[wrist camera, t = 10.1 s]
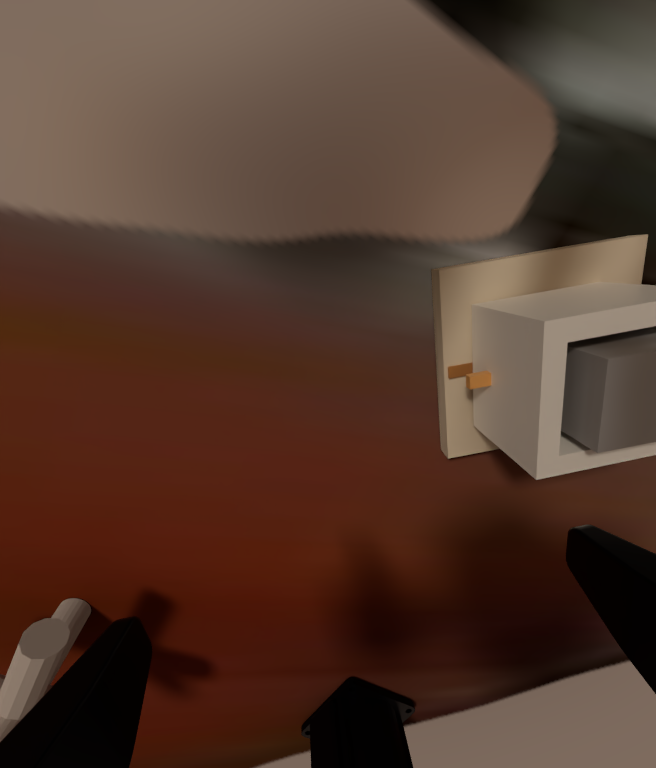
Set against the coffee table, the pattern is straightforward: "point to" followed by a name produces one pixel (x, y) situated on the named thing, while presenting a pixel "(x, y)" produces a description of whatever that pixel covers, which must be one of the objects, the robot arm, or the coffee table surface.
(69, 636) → the pipe connector
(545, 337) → the square tube segment
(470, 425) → the square peg base
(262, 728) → the coffee table surface
